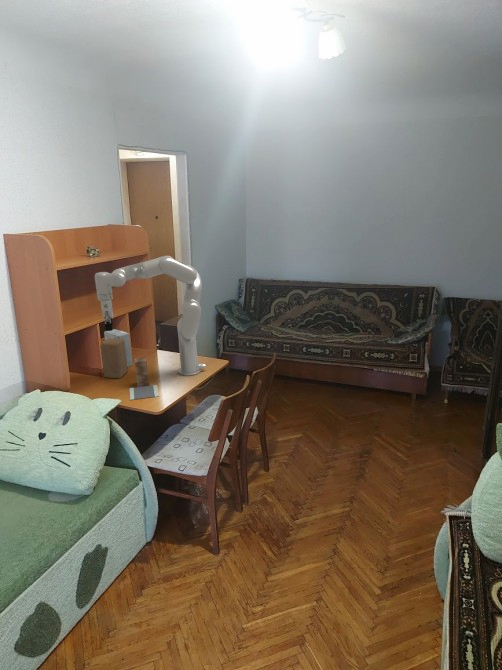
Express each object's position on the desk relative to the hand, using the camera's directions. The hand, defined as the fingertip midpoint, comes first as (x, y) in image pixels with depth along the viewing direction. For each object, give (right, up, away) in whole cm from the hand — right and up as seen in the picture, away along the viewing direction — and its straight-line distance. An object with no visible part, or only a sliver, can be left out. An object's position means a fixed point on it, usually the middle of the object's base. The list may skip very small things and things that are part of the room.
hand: (109, 328), depth 240 cm
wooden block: (-1, -26, +15) cm, 30 cm away
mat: (+20, -33, -8) cm, 39 cm away
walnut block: (+17, -30, +2) cm, 34 cm away
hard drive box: (-3, -21, +31) cm, 38 cm away
